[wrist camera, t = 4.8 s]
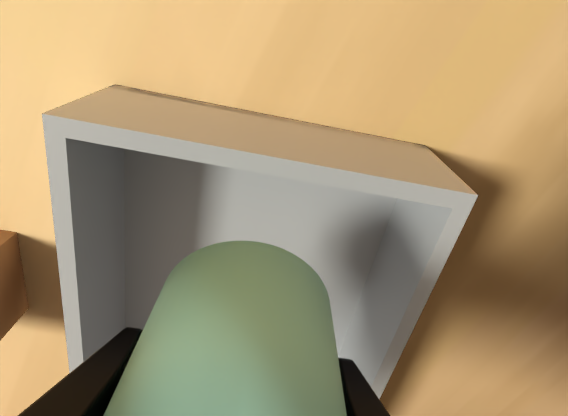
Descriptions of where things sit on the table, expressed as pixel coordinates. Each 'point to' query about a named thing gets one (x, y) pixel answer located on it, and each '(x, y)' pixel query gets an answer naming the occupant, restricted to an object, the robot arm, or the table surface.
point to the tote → (243, 213)
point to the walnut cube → (11, 282)
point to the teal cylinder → (235, 340)
